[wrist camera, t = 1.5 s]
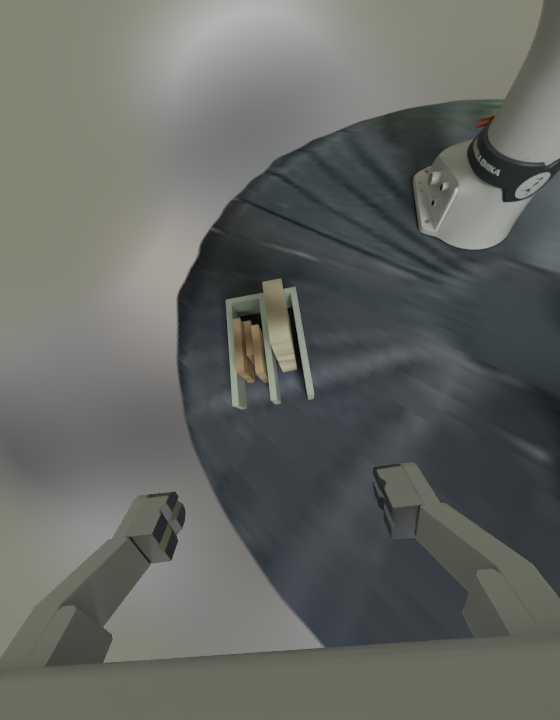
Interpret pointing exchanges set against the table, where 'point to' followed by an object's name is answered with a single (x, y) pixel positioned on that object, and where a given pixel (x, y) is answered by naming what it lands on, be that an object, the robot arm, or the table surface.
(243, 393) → the rack
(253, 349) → the offcut stack
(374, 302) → the table surface
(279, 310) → the beige brown rectangular slab
